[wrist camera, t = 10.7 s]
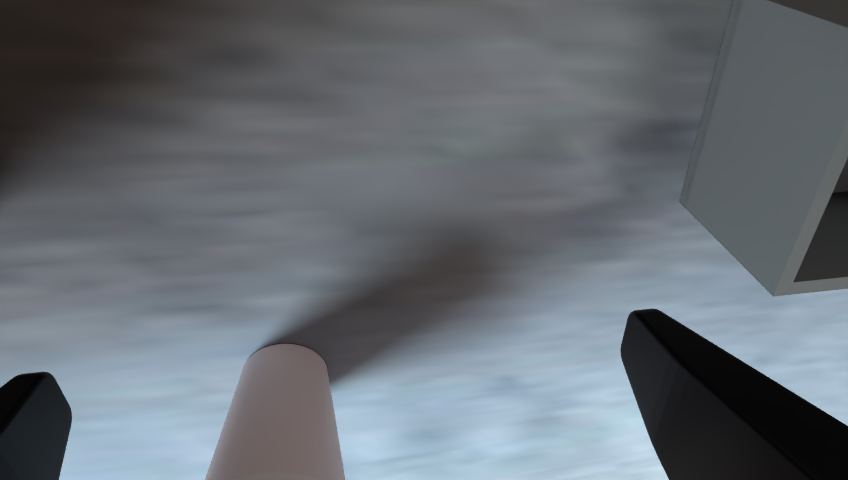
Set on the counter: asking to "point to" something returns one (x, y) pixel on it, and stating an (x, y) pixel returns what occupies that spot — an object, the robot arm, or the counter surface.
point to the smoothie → (280, 421)
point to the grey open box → (777, 145)
